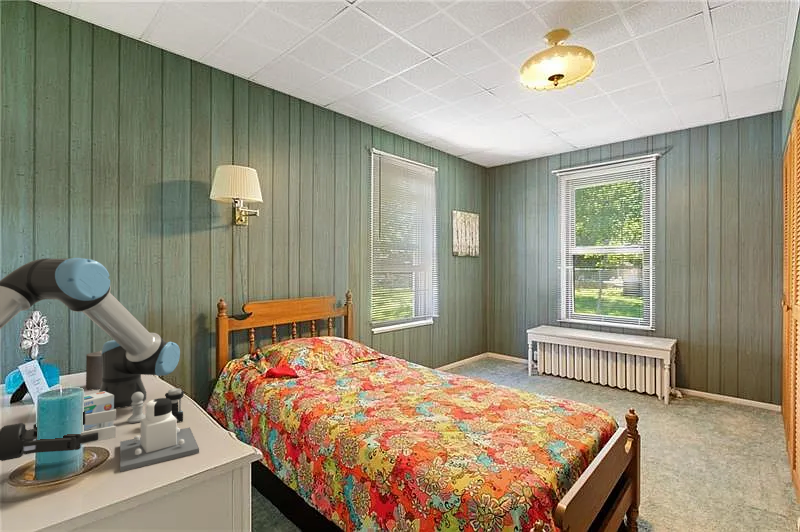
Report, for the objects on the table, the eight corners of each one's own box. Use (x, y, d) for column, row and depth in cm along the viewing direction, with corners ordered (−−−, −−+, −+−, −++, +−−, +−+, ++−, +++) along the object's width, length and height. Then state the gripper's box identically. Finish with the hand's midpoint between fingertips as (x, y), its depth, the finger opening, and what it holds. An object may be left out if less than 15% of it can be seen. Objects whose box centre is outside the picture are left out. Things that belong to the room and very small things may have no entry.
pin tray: (120, 446, 109) (120, 434, 109) (189, 431, 119) (189, 420, 119) (120, 471, 95) (120, 458, 95) (199, 452, 105) (199, 440, 105)
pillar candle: (79, 388, 162) (80, 351, 162) (103, 382, 171) (104, 347, 171) (97, 391, 159) (97, 353, 159) (121, 384, 168) (121, 348, 168)
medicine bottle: (170, 437, 112) (170, 394, 112) (177, 445, 107) (177, 400, 107) (140, 444, 107) (140, 400, 107) (146, 453, 102) (146, 406, 102)
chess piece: (134, 417, 131) (135, 389, 131) (151, 417, 130) (151, 389, 130) (123, 423, 125) (123, 394, 125) (139, 423, 125) (139, 394, 125)
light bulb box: (71, 443, 111) (71, 404, 111) (61, 437, 115) (62, 400, 115) (115, 429, 120) (115, 394, 120) (104, 425, 124) (104, 390, 124)
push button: (159, 426, 123) (159, 394, 123) (160, 421, 127) (160, 389, 127) (184, 422, 126) (184, 391, 126) (184, 417, 130) (184, 386, 130)
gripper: (11, 441, 100) (116, 422, 112) (-16, 485, 79) (115, 456, 92) (12, 411, 100) (116, 395, 112) (-16, 447, 79) (115, 423, 92)
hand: (116, 422), depth 102 cm, fingers open, 13 cm apart
